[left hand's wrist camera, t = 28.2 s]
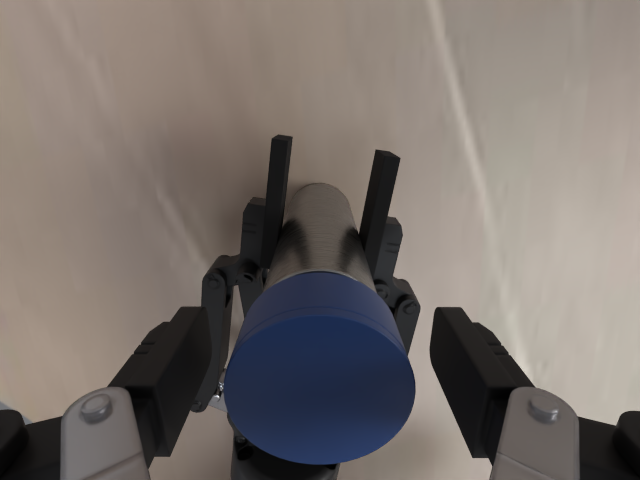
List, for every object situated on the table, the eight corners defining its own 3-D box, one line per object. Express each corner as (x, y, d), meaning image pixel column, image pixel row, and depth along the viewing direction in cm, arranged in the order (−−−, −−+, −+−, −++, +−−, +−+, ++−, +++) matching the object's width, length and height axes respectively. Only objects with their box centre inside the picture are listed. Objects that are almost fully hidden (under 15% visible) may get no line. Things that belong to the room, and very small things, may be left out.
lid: (232, 388, 12) (213, 451, 10) (253, 257, 10) (234, 297, 8) (374, 411, 12) (386, 476, 10) (417, 288, 11) (442, 335, 8)
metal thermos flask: (297, 248, 26) (266, 438, 11) (281, 190, 24) (220, 321, 9) (355, 235, 26) (406, 413, 11) (343, 176, 24) (383, 288, 9)
